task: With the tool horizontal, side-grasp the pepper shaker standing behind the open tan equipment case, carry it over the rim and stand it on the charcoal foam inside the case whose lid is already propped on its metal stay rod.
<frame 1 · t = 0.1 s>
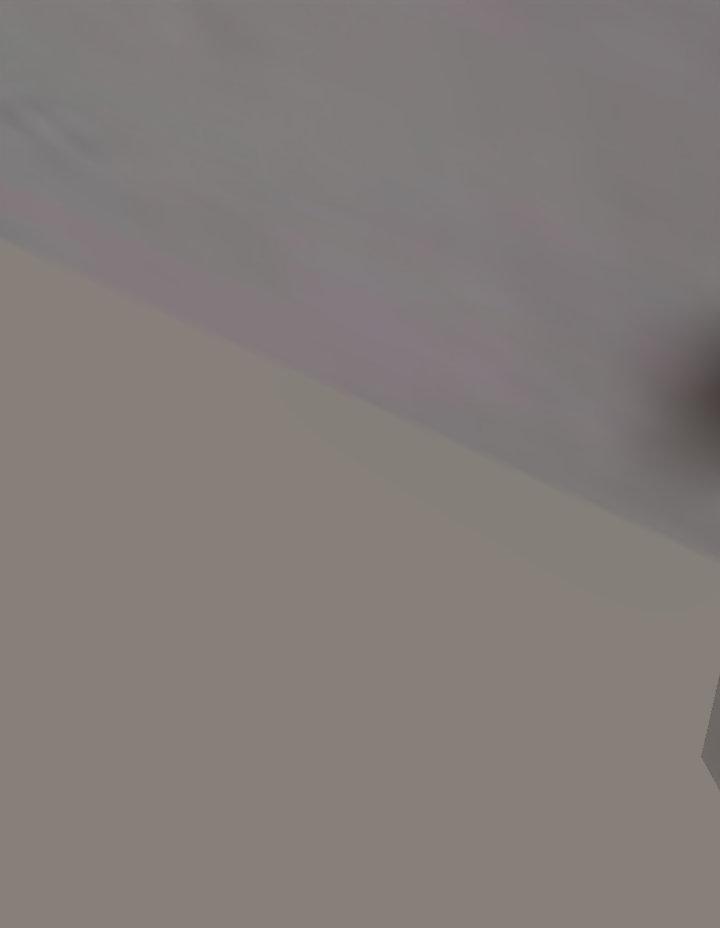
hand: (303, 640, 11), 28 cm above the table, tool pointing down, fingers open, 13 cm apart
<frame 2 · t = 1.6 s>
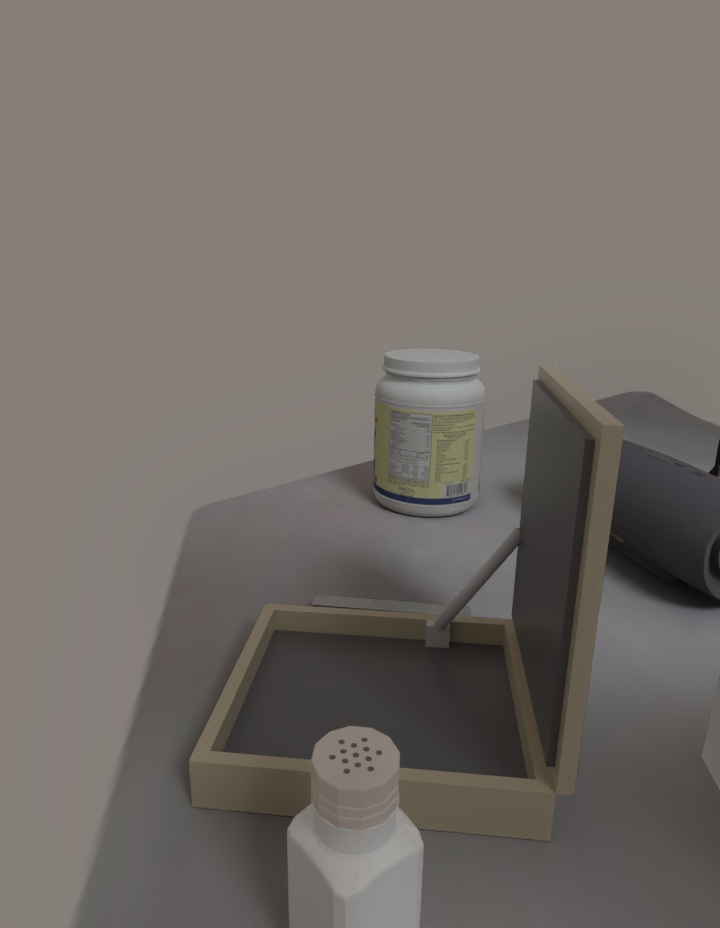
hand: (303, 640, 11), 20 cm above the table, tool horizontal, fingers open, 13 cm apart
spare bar: (390, 623, 50), on the table
bluetooth speaker: (643, 558, 62), on the table
case: (378, 718, 39), on the table
supplement tub: (425, 502, 76), on the table
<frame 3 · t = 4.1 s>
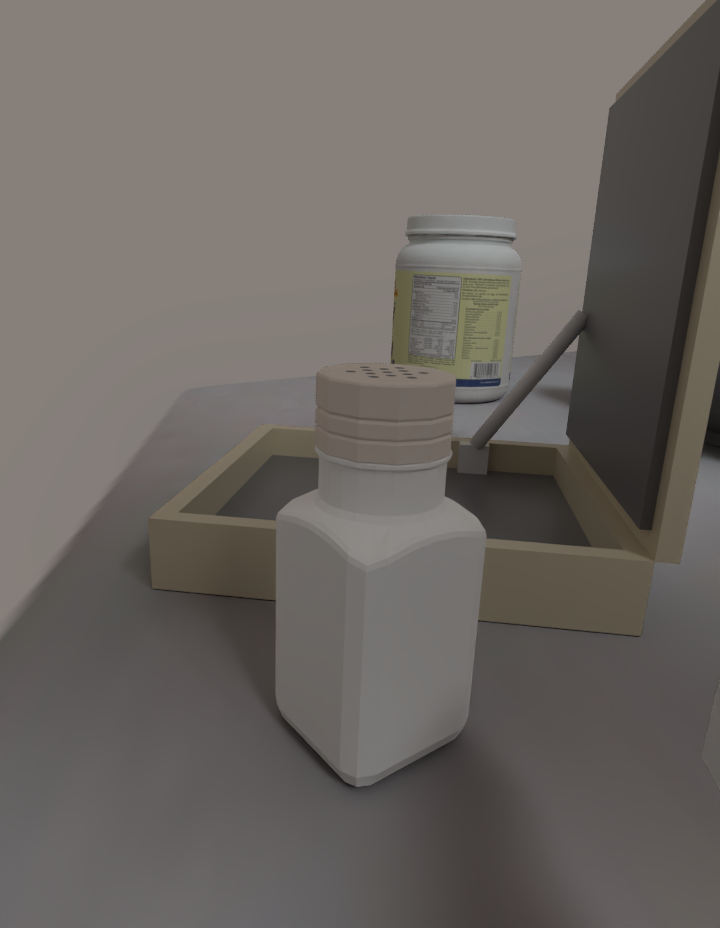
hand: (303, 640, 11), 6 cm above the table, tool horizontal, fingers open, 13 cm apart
bluetooth speaker: (704, 438, 53), on the table
case: (400, 530, 31), on the table
pepper shaker: (368, 732, 18), on the table
supplement tub: (447, 395, 67), on the table
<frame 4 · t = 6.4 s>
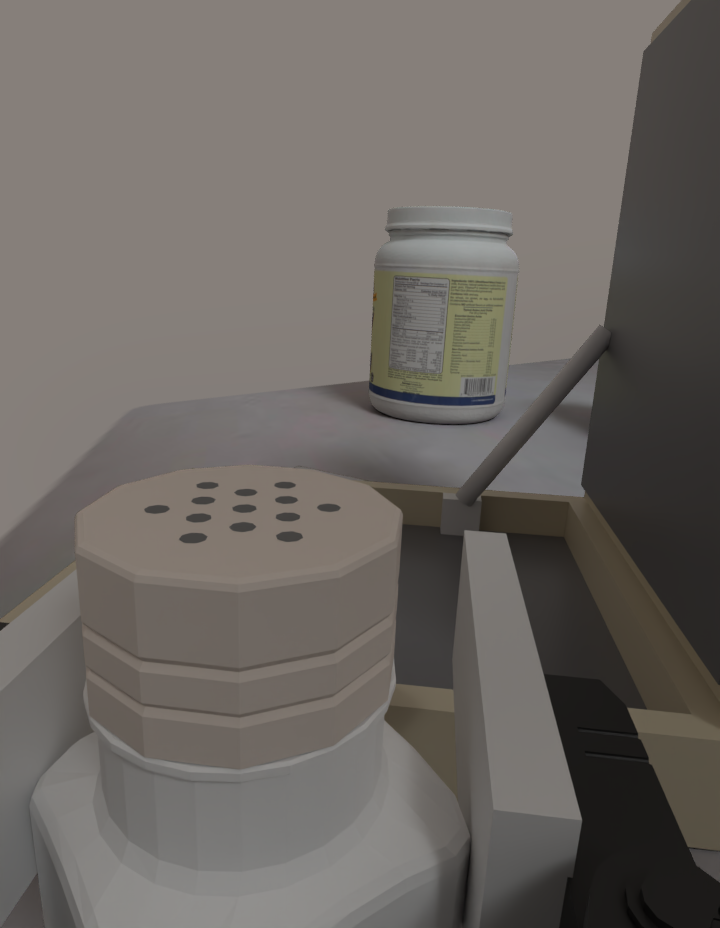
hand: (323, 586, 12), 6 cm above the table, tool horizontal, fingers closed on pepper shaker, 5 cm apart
case: (360, 627, 23), on the table
supplement tub: (434, 413, 59), on the table
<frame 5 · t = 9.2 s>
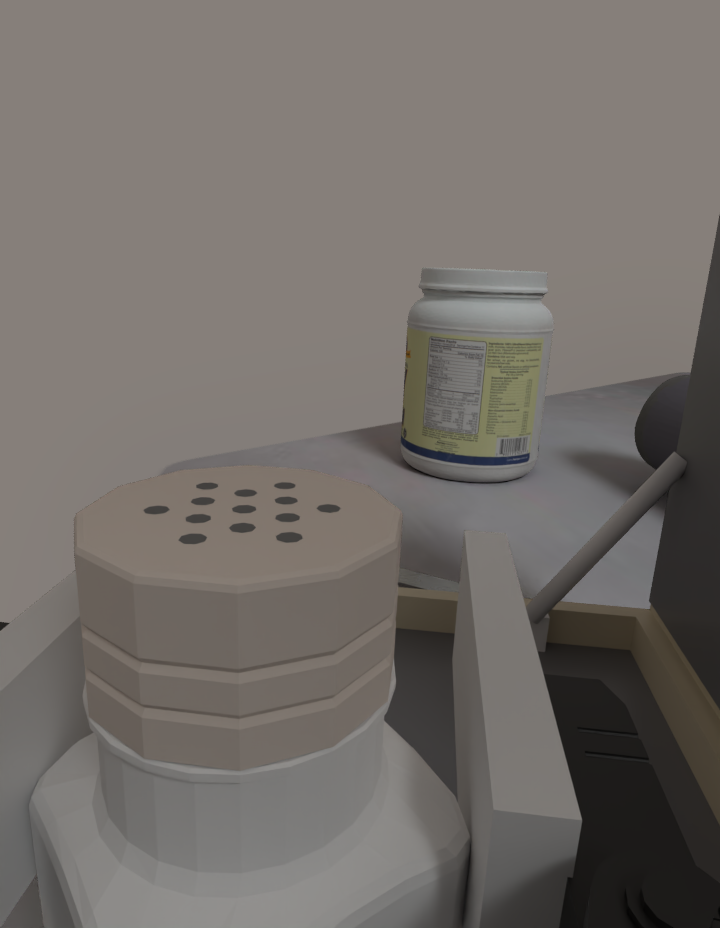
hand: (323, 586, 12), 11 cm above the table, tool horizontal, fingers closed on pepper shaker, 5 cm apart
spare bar: (439, 614, 34), on the table
case: (441, 769, 22), on the table
supplement tub: (466, 467, 59), on the table
when the fingers open (9 cm above the table, at t = 12.3 s): pepper shaker drops 1 cm, resting on case.
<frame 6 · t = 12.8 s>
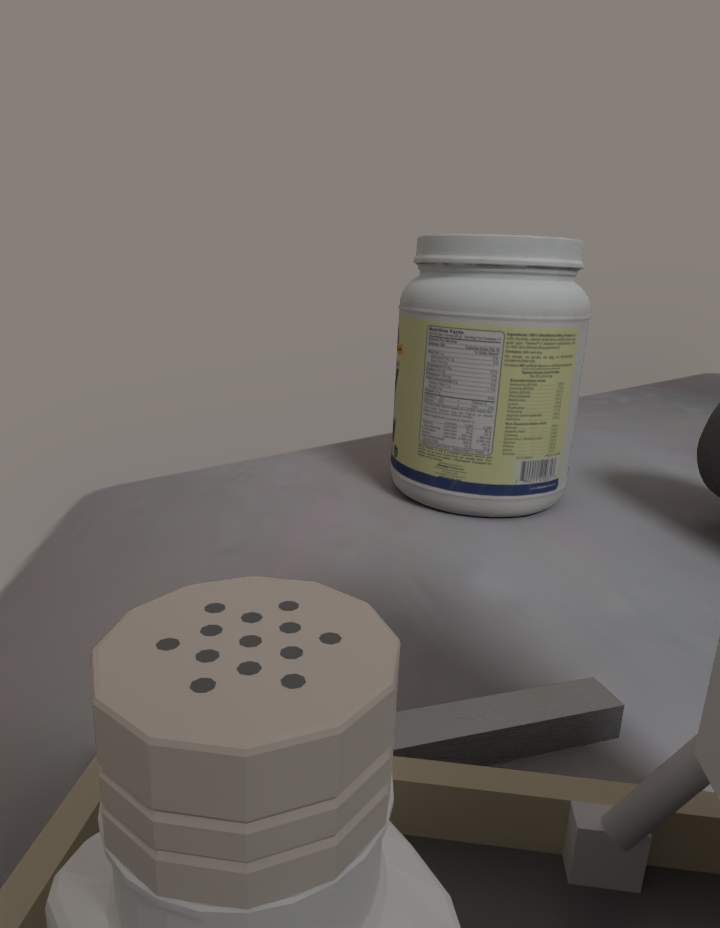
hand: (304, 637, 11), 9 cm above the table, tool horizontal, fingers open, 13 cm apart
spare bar: (443, 763, 21), on the table
supplement tub: (474, 494, 46), on the table
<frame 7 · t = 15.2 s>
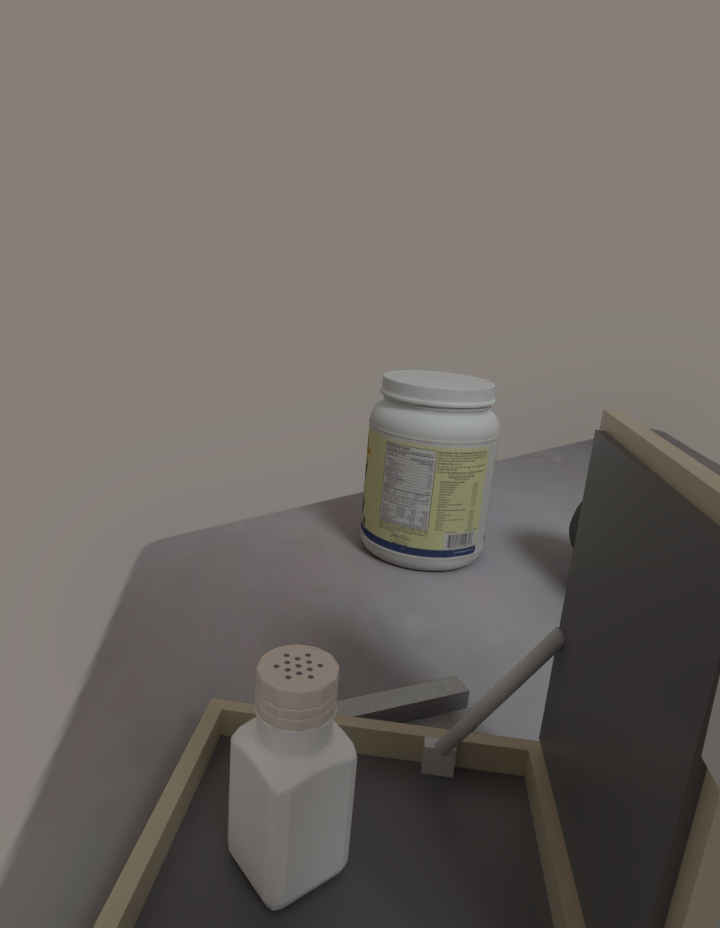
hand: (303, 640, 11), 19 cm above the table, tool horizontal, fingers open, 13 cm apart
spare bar: (374, 724, 39), on the table
case: (353, 892, 28), on the table
pepper shaker: (286, 865, 28), point 1 cm above the table, touching case
supplement tub: (420, 550, 64), on the table
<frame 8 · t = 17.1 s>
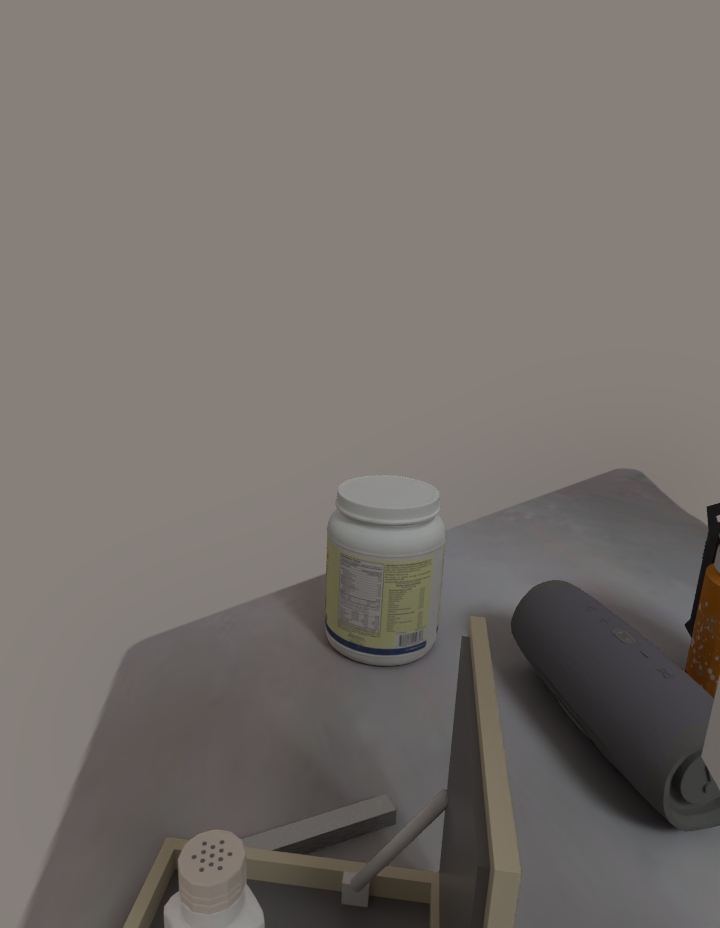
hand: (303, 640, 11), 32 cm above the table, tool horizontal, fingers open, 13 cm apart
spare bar: (312, 845, 45), on the table
bluetooth speaker: (606, 739, 57), on the table
supplement tub: (380, 639, 70), on the table
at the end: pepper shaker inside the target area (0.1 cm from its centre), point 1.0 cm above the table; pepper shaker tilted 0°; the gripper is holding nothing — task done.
